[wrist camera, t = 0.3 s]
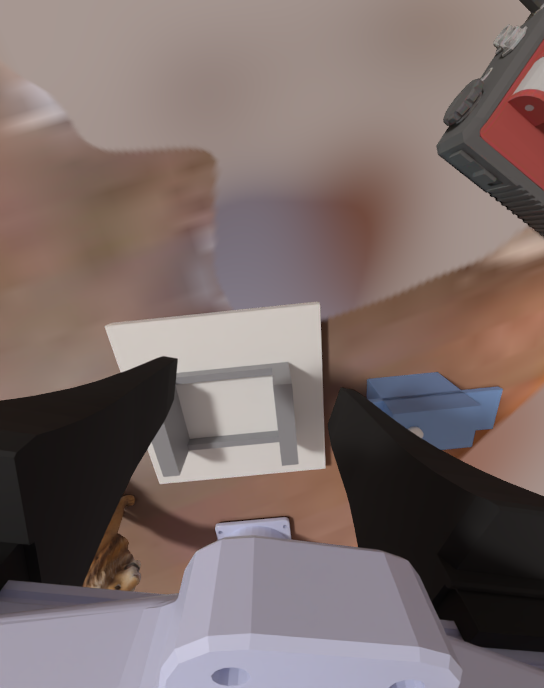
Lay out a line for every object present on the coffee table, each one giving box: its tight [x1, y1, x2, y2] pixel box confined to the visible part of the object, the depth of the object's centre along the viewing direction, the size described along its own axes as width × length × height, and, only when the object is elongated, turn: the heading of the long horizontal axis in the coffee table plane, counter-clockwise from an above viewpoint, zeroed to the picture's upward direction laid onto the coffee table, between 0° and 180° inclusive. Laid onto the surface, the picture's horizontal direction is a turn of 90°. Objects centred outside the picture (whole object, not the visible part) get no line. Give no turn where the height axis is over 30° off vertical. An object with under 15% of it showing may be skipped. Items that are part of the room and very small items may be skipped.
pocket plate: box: [105, 302, 325, 484], centre depth 21 cm, size 16×16×4 cm
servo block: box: [367, 372, 503, 450], centre depth 21 cm, size 4×12×5 cm, turn 96°
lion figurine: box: [82, 495, 141, 591], centre depth 22 cm, size 15×5×9 cm, turn 45°
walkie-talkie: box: [436, 0, 544, 235], centre depth 14 cm, size 9×4×20 cm
